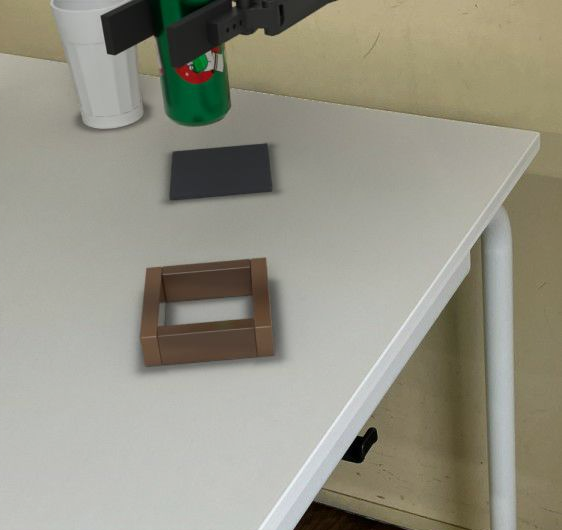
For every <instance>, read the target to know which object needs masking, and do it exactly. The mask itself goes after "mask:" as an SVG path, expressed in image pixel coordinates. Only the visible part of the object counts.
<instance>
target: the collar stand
mask: <svg viewBox="0 0 562 530" xmlns="http://www.w3.org/2000/svg"><path fill="white" fill-rule="evenodd" d="M267 263H268V261H267V257H265V256H264V257H255V258H253V257H252V258H242V259H241V258H240V259H232V260H219V261H207V262H197V263H187V264H175V265H173V264H172V265H163V266H151V267H145V278H144V288H143V298H142V309H141V318H140V319H141V320H140V330H139V331H140V332H139V341H140V347H141V352H142V359H143V363H144V367H154V366H167V365H179V364H180V365H181V364H191V363H202V362H212V361H214V362H215V361H224V360H237V359H247V358H257V357H267V356H275V355H276V353H275V344H274V343H275V342H274V330H273V321H272V309H271V308H272V307H271V297H270V284H269V273H268V264H267ZM240 296H252V309H253V310H252V312H253V313H252V314H253V317H249V318H237V319H227V320H226V319H225V320H215V321H203V322H191V323H182V324H181V323H180V324H171V325H166V324H165V323H166V307H167V303H171V302H172V303H174V302H184V301H194V300H195V301H196V300H206V299H219V298H227V297H228V298H229V297H240Z"/></svg>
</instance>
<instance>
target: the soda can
mask: <svg viewBox="0 0 562 530" xmlns="http://www.w3.org/2000/svg"><path fill="white" fill-rule="evenodd" d="M214 1H216V0H148V2H149V8H150V15H151V22H152V28H153V41H154V48H155V54H156V62H157V68H158V74H159V75H158V76H159V81H160V88H161V95H162V101H163V107H164V109H163V110H164V114H165V116H166V117H167V118H168V119H169V120H170V121H171V122H173V123H174V124H176V125H178V126H182V127H186V128H187V127H188V128H198V127H206V126H210V125H213V124H216V123H218V122H220V121H222V120H223V119H225V118H226V116H227V115H228V113H229V112H230V111H231V108H232V98H231V97H232V96H231V86H230V77H229V70H228V69H229V68H228V60H227V51H226V42H225V43H223V44H221V45H219V46H217V47H216V48H214V49H212V50H210V51H209V52H207V53H205V54H204V55H202V56H200V57H198V58H197V59H195V60H193V61H191V62H190V63H188V64H186V65H184V66H183V67H181V68H176V67H171V62H170V55H169V48H168V41H167V33H166V26H168V25H170V24H172V23H174V22H176V21H178V20H180V19H181V18H183V17H185V16H187V15H189V14H191V13H193V12H195V11H197V10H199V9H200V8H202V7H204V6H206V5H208V4H210V3H212V2H214Z"/></svg>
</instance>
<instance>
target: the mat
mask: <svg viewBox="0 0 562 530" xmlns="http://www.w3.org/2000/svg"><path fill="white" fill-rule="evenodd" d="M268 147H269V146H268V143H267V142H264V143H253V144H244V145H243V144H239V145H230V146H219V147H209V148H197V149H196V148H195V149H185V150H174V151H172V154H171V167H170V168H171V170H170V183H169V184H170V185H169V200H170V201H177V200H185V199H187V200H189V199H199V198H208V197H210V198H211V197H223V196H231V195H244V194H254V193H266V192H267V193H268V192H273V187H272V176H271V175H272V174H271V165H270V158H269V148H268Z"/></svg>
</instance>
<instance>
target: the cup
mask: <svg viewBox="0 0 562 530" xmlns="http://www.w3.org/2000/svg"><path fill="white" fill-rule="evenodd" d="M130 1H132V0H50V1H49V5H50V9H51V12H52V16H53V19H54V22H55V25H56V29H57V32H58V35H59V39H60V43H61V46H62V49H63V53H64V56H65V61H66V64H67V67H68V70H69V74H70V77H71V78H70V79H71V82H72V85H73V87H74V92H75V95H76V99H77V102H78V106H79V110H80V115H81V119H82V122H83V124H84V125H86V126H87V127H90V128H93V129H101V130H102V129H103V130H106V129H108V130H109V129H117V128H122V127H127V126H129V125H132V124H134V123H136V122H137V121H139V120H140V119H141V118H142V117H143V116H144V113H145V112H144V111H145V110H144V105H143V100H142V98H143V97H142V86H141V75H140V64H139V62H140V61H139V50H138V44H136V45H134V46H133V47H131V48H129V49H127V50H125V51H123V52H121V53H119V54H117V55H115V56H114V55H109V54H107V51H106V45H105V40H104V34H103V29H102V23H101V17H100V16H101V15H103V14H105V13H107V12H109V11H111V10H113V9H115V8H117V7H119V6H121V5H123V4H126V3H128V2H130Z"/></svg>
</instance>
